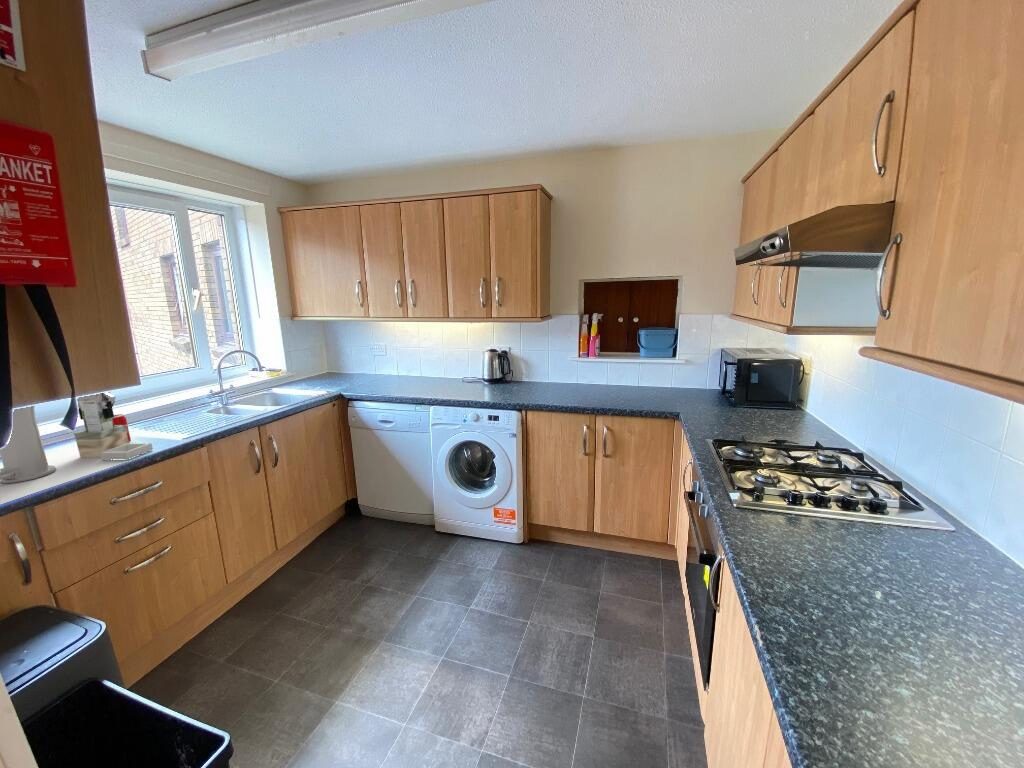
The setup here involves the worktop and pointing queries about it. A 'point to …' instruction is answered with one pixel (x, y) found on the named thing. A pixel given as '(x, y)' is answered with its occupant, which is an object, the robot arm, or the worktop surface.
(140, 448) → the grey collar
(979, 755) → the worktop surface
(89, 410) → the syrup box
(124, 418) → the beverage can
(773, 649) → the worktop surface
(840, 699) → the worktop surface
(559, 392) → the worktop surface
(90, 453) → the raised stand
